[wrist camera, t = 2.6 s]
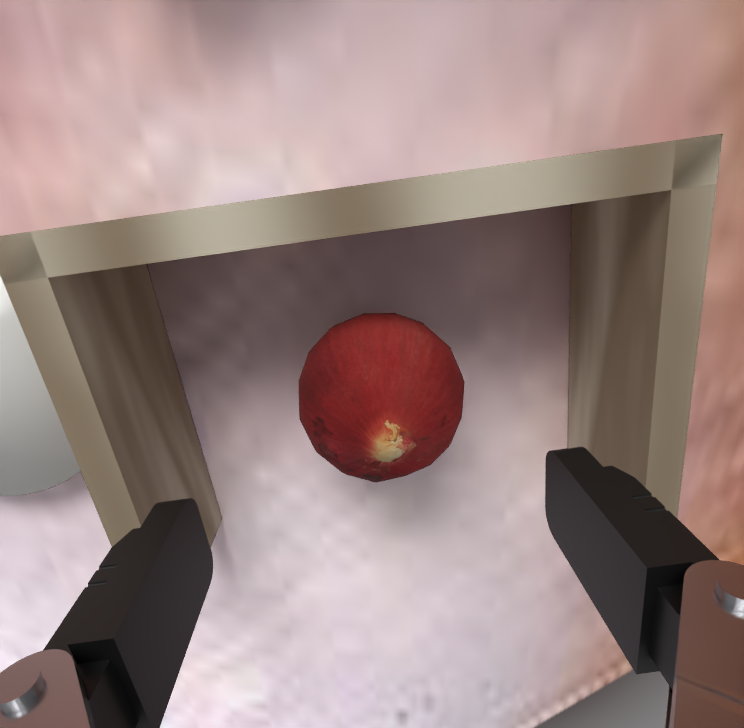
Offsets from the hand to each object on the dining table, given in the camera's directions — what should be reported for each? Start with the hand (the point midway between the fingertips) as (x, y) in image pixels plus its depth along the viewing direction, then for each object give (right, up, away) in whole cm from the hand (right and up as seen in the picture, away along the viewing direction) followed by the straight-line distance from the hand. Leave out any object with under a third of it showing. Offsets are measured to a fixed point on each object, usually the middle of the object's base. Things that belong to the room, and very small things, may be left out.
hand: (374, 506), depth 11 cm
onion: (0, +3, +10) cm, 10 cm away
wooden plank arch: (0, +3, +9) cm, 10 cm away
